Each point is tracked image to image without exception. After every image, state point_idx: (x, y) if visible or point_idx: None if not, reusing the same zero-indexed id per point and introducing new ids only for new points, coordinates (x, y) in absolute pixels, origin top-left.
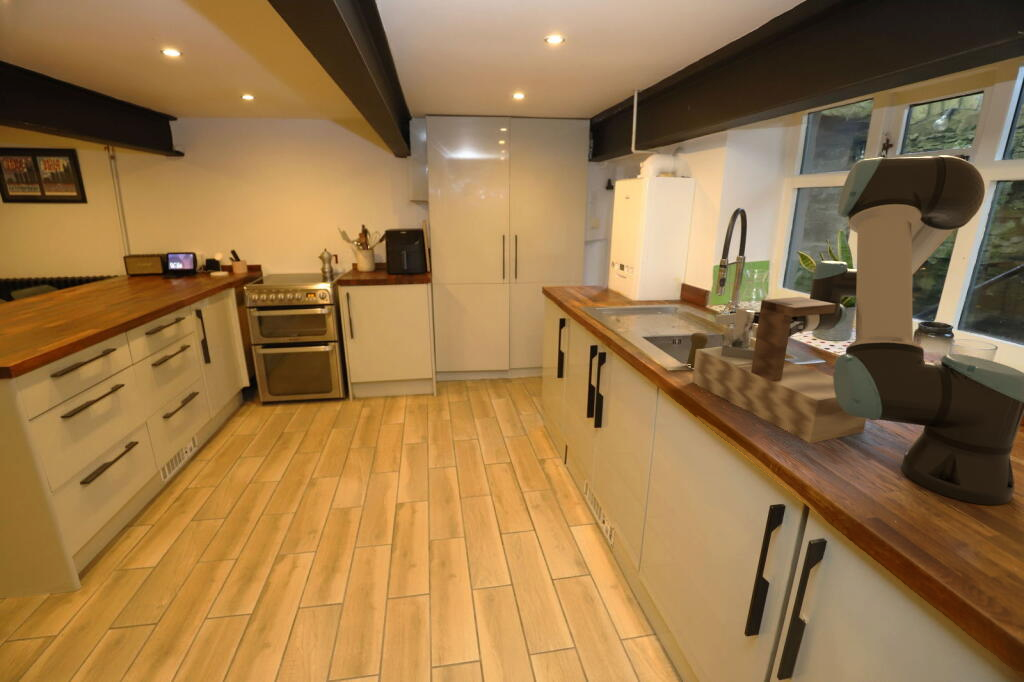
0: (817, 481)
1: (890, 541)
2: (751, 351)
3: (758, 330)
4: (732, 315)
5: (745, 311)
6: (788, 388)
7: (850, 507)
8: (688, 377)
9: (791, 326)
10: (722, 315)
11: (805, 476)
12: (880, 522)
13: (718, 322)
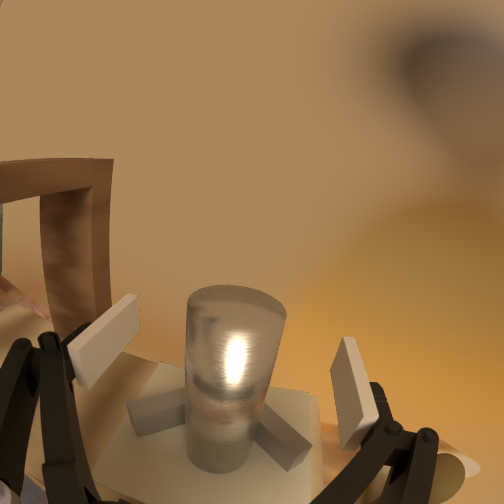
0: (32, 307)
1: (7, 281)
2: (152, 399)
3: (105, 246)
4: (356, 400)
5: (218, 291)
6: (45, 319)
7: (18, 294)
8: (324, 463)
9: (7, 365)
10: (346, 352)
11: (40, 309)
12: (6, 290)
13: (333, 366)
